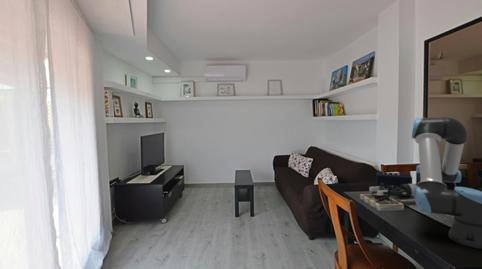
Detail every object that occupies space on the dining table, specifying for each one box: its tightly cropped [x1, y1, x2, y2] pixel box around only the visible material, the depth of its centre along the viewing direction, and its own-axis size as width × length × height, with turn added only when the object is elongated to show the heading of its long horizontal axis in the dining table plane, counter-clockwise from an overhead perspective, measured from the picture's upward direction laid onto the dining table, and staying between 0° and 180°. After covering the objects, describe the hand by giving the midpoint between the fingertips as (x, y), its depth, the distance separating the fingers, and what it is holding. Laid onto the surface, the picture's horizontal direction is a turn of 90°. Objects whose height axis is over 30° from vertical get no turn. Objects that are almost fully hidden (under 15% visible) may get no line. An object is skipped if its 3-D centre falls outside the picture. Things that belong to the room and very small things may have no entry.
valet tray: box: [359, 193, 405, 212], centre depth 162 cm, size 22×15×4 cm
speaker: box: [375, 171, 413, 187], centre depth 184 cm, size 22×13×15 cm, turn 62°
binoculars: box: [371, 183, 391, 201], centre depth 162 cm, size 9×11×10 cm
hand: (373, 191), depth 162 cm, fingers closed on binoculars, 8 cm apart
